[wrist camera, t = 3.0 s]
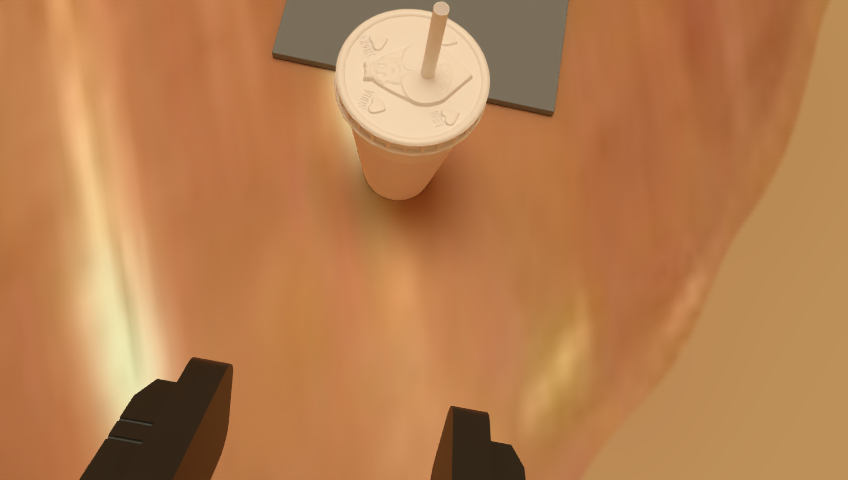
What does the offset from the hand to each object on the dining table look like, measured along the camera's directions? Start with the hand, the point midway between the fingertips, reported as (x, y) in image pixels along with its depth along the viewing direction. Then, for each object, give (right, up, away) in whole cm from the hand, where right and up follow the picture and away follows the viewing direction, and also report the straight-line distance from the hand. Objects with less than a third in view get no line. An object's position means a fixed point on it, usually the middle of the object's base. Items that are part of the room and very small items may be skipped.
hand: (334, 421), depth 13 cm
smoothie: (0, +7, +24) cm, 25 cm away
